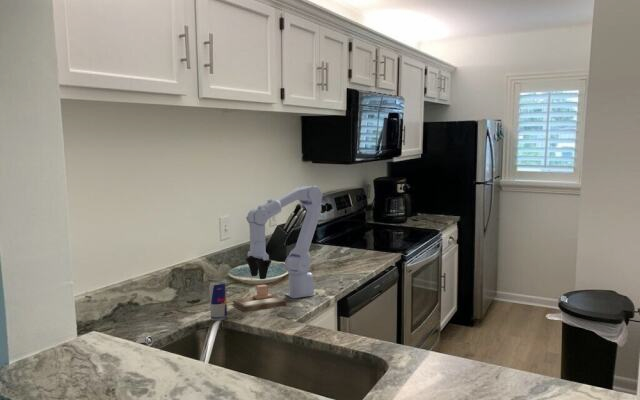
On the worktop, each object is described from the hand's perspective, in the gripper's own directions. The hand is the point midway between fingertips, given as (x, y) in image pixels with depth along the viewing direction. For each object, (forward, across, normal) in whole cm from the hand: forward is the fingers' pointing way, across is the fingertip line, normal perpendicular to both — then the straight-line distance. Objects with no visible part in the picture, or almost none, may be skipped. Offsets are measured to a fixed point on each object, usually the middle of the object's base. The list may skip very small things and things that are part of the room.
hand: (258, 277), depth 184 cm
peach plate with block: (+8, -2, +2) cm, 8 cm away
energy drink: (+10, +11, -20) cm, 25 cm away
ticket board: (+10, +2, -1) cm, 10 cm away
